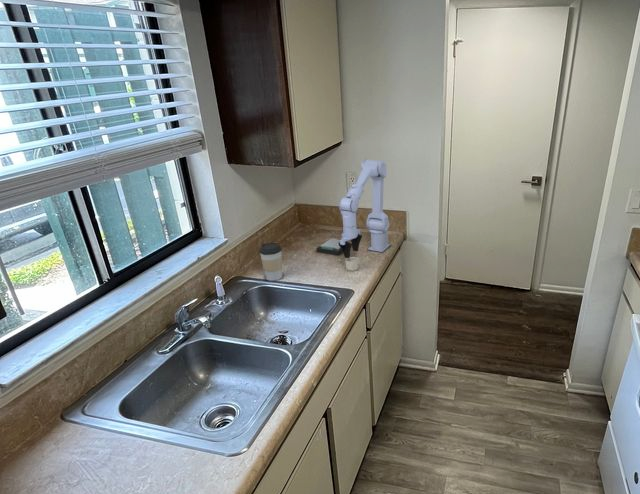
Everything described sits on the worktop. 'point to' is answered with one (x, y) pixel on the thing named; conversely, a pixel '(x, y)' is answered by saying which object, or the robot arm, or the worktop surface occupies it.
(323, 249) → the scale
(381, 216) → the robot arm
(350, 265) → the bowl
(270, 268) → the coffee cup
